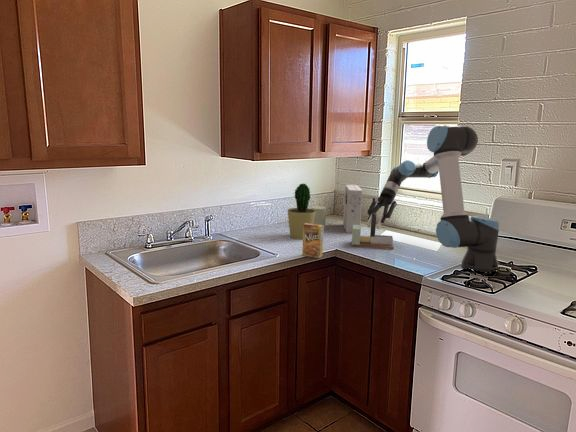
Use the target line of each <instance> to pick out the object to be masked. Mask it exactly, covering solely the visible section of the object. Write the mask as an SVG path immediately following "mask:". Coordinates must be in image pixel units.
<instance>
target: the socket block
mask: <svg viewBox="0 0 576 432" xmlns="http://www.w3.org/2000/svg"><path fill="white" fill-rule="evenodd" d="M361 226H362V225H361V224H360V225H353V232H352V233H351V234H352V236H351V245H352V244H356V245H360V236H361V231H362V230H361V229H362V227H361Z"/></svg>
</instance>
